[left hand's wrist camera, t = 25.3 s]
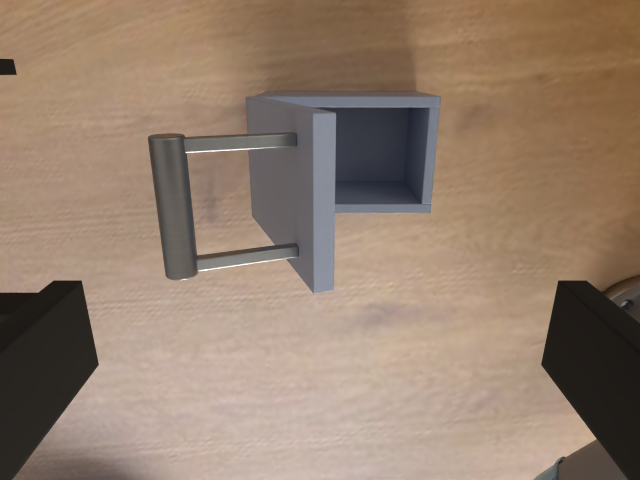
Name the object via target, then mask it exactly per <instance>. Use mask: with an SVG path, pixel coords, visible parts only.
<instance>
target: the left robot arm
mask: <svg viewBox="0 0 640 480" xmlns="http://www.w3.org/2000/svg"><path fill="white" fill-rule="evenodd" d="M98 365H99V364H98V359H97V354H96V349H95V344H94V339H93V334H92V329H91V324H90V319H89V315H88V310H87V305H86V300H85V295H84V290H83V285H82V281H53V282H51V283H50V284H49V285H48V286H46V287H45V288H44V289H43V290H41V291H40V292H39V293H37V294H36V295H35V296H34V297H32V298H31V299H30V300H29V301H27V302H26V303H25V304H24V305H22V306H21V307H20V308H18V309H17V310H16V311H15V312H13V313H12V314H11V315H10V316H8V317H7V318H6V319H5V320H3V321H2V322H1V323H0V480H13V478H14V477H15V476H16V474H17V473H18V472H19V470H20V469H21V468H22V466H23V465H24V464H25V462H26V461H27V460H28V458H29V457H30V456H31V454H32V453H33V452H34V450H35V449H36V448H37V446H38V445H39V444H40V442H41V441H42V440H43V438H44V437H45V436H46V434H47V433H48V432H49V430H50V429H51V428H52V426H53V425H54V424H55V422H56V421H57V420H58V418H59V417H60V416H61V414H62V413H63V412H64V410H65V409H66V408H67V406H68V405H69V404H70V402H71V401H72V400H73V398H74V397H75V396H76V394H77V393H78V392H79V390H80V389H81V388H82V386H83V385H84V384H85V382H86V381H87V380H88V378H89V377H90V376H91V374H92V373H93V372H94V370H95V369H96V368H97V366H98ZM541 365H542V366H543V368H544V369H545V370H546V372H547V373H548V374H549V376H550V377H551V378H552V380H553V381H554V382H555V384H556V385H557V386H558V388H559V389H560V390H561V392H562V393H563V394H564V396H565V397H566V398H567V400H568V401H569V402H570V404H571V405H572V406H573V408H574V409H575V410H576V412H577V413H578V414H579V416H580V417H581V418H582V420H583V421H584V422H585V424H586V425H587V426H588V428H589V429H590V430H591V432H592V433H593V434H594V436H595V437H596V438H597V439H596V440H595V441H593V442H591V443H590V444H588V445H586V446H584V447H583V448H581V449H579V450H578V451H576V452H574V453H572V454H571V455H569V456H567V457H561V458H559V459H558V460H557V461H556V462H555V464H554V465H553V466H552V467H550V468H549V469H547V470H546V471H544V472H543V473H541V474H540V475H538V476H537V477H536V478H535V479H534V480H640V276H637V277H633V278H630V279H627V280H625V281H623V282H620V283H618V284H616V285H615V286H613V287H611V288H610V289H608V290H607V291H605V292H604V293H601V292H600V291H599V290H597V289H596V288H595V287H594V286H592V285H591V284H590V283H589V282H587V281H558V285H557V290H556V295H555V300H554V305H553V310H552V315H551V319H550V324H549V329H548V334H547V339H546V344H545V349H544V354H543V359H542V364H541Z"/></svg>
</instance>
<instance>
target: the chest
mask: <svg viewBox="0 0 640 480" xmlns="http://www.w3.org/2000/svg"><path fill="white" fill-rule="evenodd" d="M255 97H265V98H270V99H274V100H279V101H283V102H288V103H293V104H297V105H302V106H307V107H311V108H316V109H321V110H325V111H330V112H335V113H336V157H335V213H430V211H431V199H432V188H433V177H434V166H435V155H436V144H437V133H438V122H439V111H440V108H439V107H440V101H441V97H440V96H436V95H431V94H427V93H422V92H418V91H267V92H265V93H262V94H260V95H257V96H255Z"/></svg>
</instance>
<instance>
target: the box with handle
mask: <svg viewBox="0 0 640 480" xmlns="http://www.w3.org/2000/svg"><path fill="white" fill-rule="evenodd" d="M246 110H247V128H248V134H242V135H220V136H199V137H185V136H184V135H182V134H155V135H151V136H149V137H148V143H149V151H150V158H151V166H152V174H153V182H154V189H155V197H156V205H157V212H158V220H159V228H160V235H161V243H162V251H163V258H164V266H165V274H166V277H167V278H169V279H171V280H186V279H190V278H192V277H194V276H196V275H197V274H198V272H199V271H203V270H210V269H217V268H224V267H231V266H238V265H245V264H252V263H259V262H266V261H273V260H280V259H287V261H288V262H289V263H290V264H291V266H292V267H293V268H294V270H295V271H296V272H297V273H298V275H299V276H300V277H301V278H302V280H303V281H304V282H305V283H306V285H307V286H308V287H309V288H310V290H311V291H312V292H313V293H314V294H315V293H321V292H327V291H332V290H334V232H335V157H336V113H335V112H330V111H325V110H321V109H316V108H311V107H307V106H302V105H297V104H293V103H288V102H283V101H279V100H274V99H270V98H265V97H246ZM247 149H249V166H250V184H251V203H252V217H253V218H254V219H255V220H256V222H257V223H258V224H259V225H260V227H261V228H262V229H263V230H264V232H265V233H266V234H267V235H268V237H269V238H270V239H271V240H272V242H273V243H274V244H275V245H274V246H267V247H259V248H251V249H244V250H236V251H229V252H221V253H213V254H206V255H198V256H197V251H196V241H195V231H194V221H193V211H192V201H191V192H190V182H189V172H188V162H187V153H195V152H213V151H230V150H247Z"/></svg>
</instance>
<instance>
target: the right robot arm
mask: <svg viewBox="0 0 640 480" xmlns="http://www.w3.org/2000/svg"><path fill="white" fill-rule="evenodd" d="M0 75H17V74H16V69H15V65H14V60H13V59H0ZM36 294H37V293H0V323H1V322H2V321H3V320H5V319H6V318H7V317H8V316H10V315H11V314H12V313H13V312H15V311H16V310H17V309H18V308H20V307H21V306H22V305H24V304H25V303H26V302H27V301H29V300H30V299H31V298H32V297H34V296H35V295H36Z"/></svg>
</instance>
